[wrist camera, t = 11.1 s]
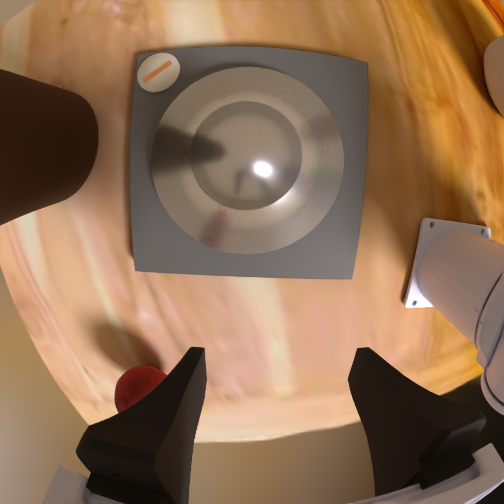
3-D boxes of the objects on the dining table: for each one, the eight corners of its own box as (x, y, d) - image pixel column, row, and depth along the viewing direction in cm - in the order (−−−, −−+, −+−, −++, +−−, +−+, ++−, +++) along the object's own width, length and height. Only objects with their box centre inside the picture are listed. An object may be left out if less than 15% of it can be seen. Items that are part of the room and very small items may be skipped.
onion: (137, 388, 25) (114, 446, 17) (123, 346, 23) (88, 405, 15) (190, 393, 25) (176, 457, 17) (181, 350, 23) (159, 418, 15)
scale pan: (342, 80, 15) (346, 77, 14) (331, 254, 19) (334, 257, 18) (159, 73, 15) (156, 70, 14) (156, 247, 18) (153, 250, 18)
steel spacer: (286, 125, 15) (305, 106, 10) (281, 196, 17) (297, 213, 11) (213, 121, 15) (193, 100, 10) (209, 192, 17) (188, 207, 11)
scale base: (361, 67, 16) (369, 60, 14) (347, 273, 21) (353, 282, 19) (143, 59, 16) (135, 52, 14) (140, 265, 21) (132, 273, 19)
